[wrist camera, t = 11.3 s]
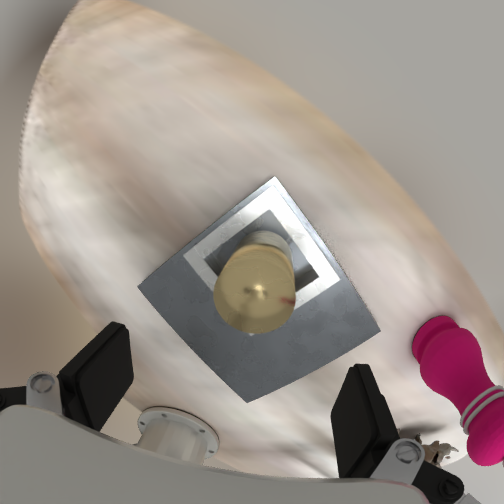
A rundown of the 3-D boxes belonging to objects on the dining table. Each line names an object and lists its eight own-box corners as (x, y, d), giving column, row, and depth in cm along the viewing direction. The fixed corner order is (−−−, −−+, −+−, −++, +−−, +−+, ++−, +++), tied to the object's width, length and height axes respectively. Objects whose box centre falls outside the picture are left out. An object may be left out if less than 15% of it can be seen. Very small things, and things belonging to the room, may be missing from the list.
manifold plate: (248, 394, 31) (244, 418, 27) (143, 281, 28) (125, 296, 24) (376, 323, 27) (388, 344, 23) (275, 176, 24) (274, 176, 20)
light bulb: (257, 295, 26) (247, 346, 18) (223, 252, 25) (197, 288, 17) (303, 265, 24) (311, 307, 17) (269, 218, 24) (262, 241, 16)
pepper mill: (422, 308, 26) (523, 445, 7) (466, 313, 25) (563, 422, 6) (398, 362, 28) (459, 504, 9) (443, 363, 28) (510, 480, 8)
